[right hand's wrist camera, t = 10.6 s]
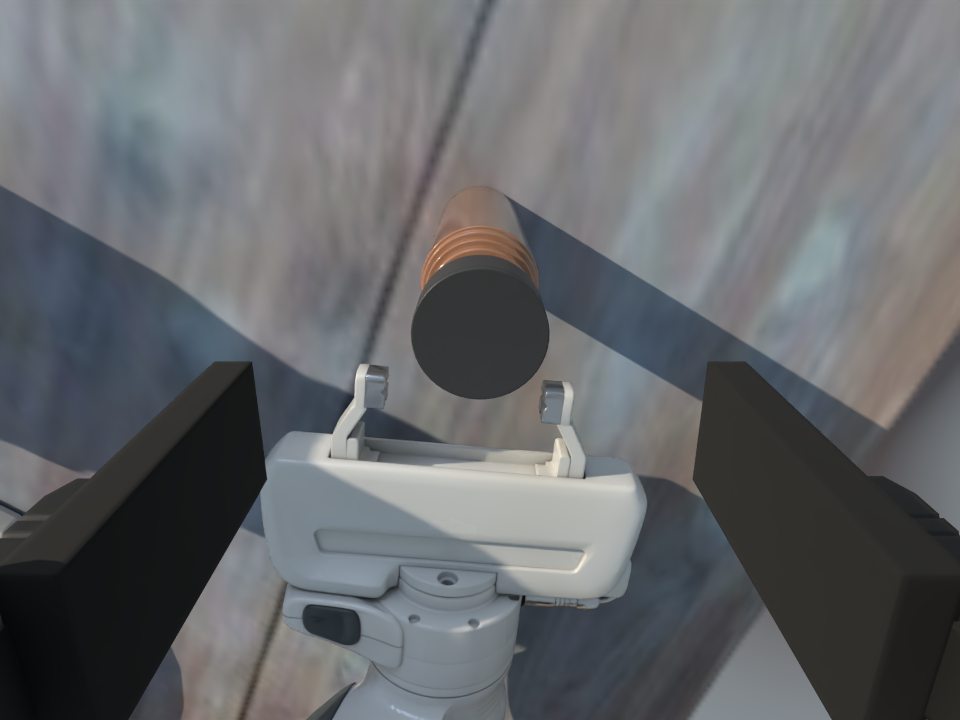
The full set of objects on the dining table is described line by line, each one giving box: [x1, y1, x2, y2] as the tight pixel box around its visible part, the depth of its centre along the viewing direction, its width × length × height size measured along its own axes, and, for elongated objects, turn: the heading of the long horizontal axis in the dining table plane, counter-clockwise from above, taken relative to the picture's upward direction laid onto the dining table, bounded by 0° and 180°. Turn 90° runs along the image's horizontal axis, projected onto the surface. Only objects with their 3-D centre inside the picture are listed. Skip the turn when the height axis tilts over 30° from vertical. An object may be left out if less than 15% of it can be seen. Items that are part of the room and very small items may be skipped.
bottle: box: [421, 187, 540, 293], centre depth 28 cm, size 4×4×19 cm
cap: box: [411, 255, 549, 399], centre depth 20 cm, size 4×4×2 cm
